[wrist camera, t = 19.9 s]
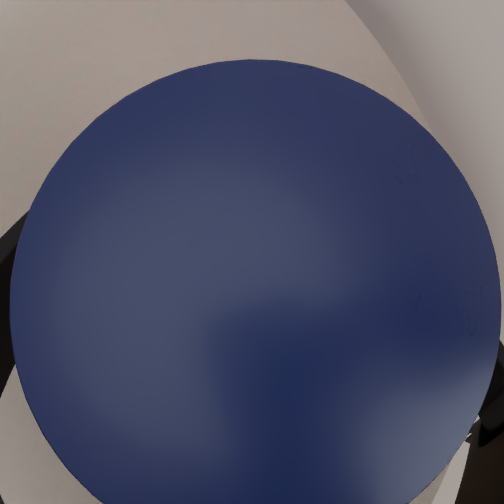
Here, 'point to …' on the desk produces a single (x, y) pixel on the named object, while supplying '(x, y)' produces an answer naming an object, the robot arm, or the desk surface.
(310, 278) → the lid
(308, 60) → the desk surface
